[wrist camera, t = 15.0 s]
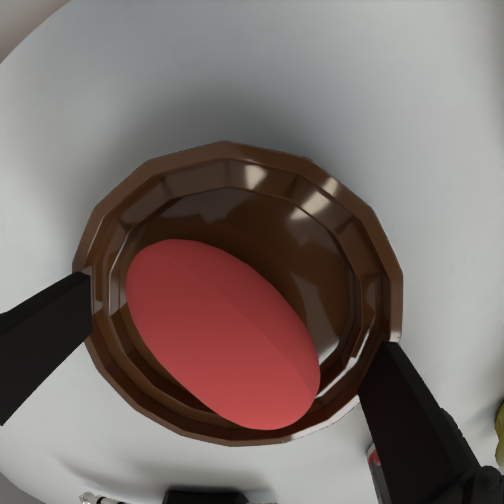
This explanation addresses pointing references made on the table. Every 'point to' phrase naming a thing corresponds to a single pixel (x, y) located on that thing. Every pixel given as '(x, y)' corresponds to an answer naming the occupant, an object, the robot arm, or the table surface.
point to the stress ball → (223, 333)
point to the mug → (500, 437)
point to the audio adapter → (177, 499)
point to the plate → (255, 255)
